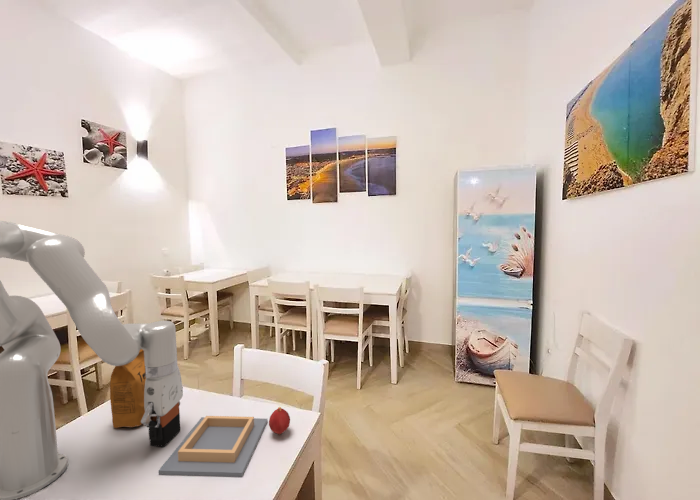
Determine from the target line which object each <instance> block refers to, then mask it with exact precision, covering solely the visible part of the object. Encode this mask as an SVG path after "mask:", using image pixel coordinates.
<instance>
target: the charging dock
mask: <svg viewBox="0 0 700 500" xmlns="http://www.w3.org/2000/svg"><path fill="white" fill-rule="evenodd" d="M268 423H269V420H268V418H258V417H257V418H255V417H254V416H237V415H236V416H235V415H233V416H232V415H231V416H230V415H229V416H228V415H225V416H224V415H223V416H222V415H206V416H205V417H204V416H203V417H200V418H199V420H198V421H197V422H196V424H195V425H194V426H193V427H192V428H191V429H190V431H189V432H188V433H187V434H186V436H185V437H184V439H183V440H182V441H181V442H180V444H179V445H178V446H177V447H175V448H176V449H175V450H173V452H172V454H171V455H169V457H168V458H167V459H166V461H165V462H164V463H163V464H162V465H161V467H160V468H159V469H158V475H162V476H163V475H166V476H168V475H169V476H197V477H198V476H200V477H201V476H202V477H235V478H237V477H238V478H239V477H240V478H242V477H243V476H244V474H245V472H246V469H247V467H248V465H249V463H250V461H251V458H252V456H253V454H254V453H255V450H256V448H257V446H258V443H259V441H260V439H261V437H262V434H263V432H264V430H265V428H266V426H267V425H268Z"/></svg>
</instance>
